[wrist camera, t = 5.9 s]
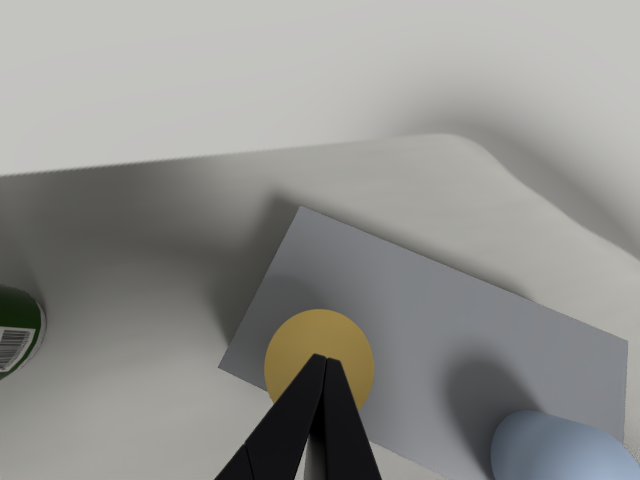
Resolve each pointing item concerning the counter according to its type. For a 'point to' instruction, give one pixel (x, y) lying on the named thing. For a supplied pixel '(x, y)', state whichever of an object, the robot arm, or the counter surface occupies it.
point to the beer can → (19, 329)
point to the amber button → (319, 351)
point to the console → (434, 346)
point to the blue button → (557, 450)
